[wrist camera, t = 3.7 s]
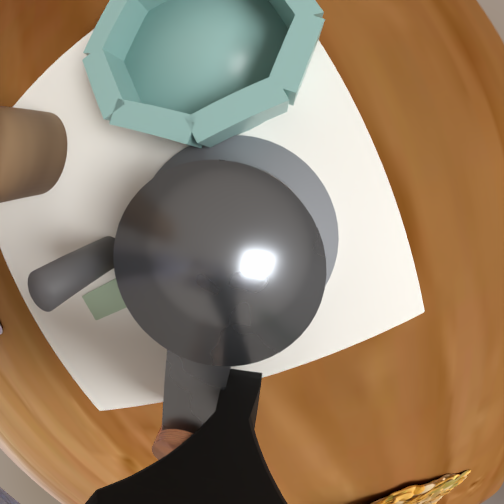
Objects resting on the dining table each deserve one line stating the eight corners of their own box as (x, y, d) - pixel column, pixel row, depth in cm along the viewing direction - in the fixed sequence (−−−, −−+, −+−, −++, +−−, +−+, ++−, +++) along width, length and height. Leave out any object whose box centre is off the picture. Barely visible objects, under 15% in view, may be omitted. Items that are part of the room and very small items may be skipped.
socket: (155, 179, 9) (130, 182, 7) (95, 36, 8) (71, 22, 6) (348, 90, 8) (363, 74, 6) (253, -44, 6) (249, -71, 5)
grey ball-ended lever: (172, 150, 9) (121, 142, 5) (329, 185, 9) (358, 193, 5) (146, 399, 12) (119, 449, 8) (250, 428, 12) (243, 485, 8)
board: (105, 402, 14) (68, 458, 9) (-16, 159, 10) (-78, 168, 6) (416, 303, 10) (475, 371, 6) (250, -39, 7) (235, -114, 2)
